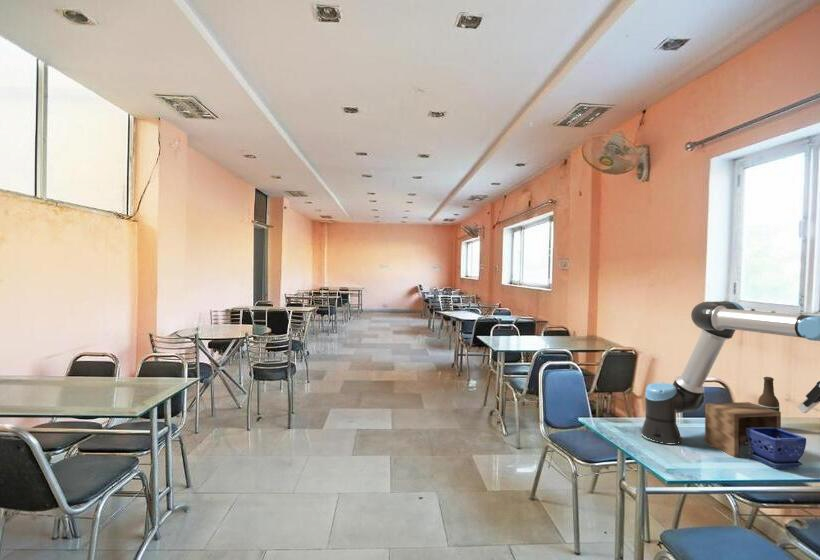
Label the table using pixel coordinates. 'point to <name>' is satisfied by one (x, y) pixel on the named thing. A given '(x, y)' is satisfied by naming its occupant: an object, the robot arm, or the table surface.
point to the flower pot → (776, 446)
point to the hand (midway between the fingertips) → (801, 409)
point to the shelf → (735, 424)
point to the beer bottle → (768, 395)
